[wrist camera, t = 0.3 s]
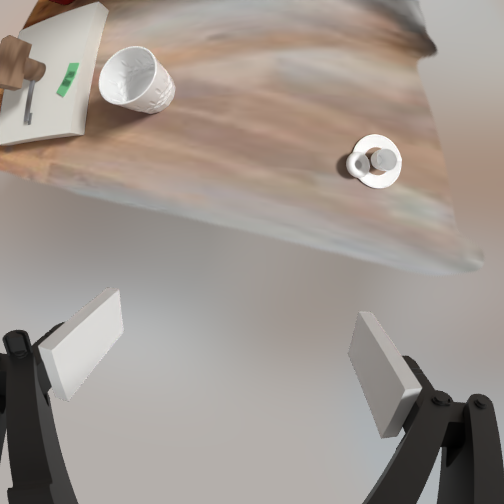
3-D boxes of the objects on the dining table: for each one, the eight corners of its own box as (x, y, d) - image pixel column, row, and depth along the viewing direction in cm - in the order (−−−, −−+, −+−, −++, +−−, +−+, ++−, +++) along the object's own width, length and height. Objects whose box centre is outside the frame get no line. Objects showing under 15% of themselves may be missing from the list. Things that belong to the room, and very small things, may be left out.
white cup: (121, 98, 38) (88, 83, 28) (156, 60, 36) (130, 36, 27) (152, 128, 39) (123, 117, 29) (190, 89, 37) (169, 66, 28)
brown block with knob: (36, 54, 32) (-1, 40, 22) (50, 50, 32) (12, 33, 21) (23, 123, 35) (-20, 119, 25) (36, 120, 35) (-7, 114, 25)
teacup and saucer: (339, 176, 40) (347, 177, 36) (352, 125, 38) (361, 120, 34) (392, 195, 40) (404, 197, 36) (404, 145, 38) (417, 143, 34)
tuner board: (31, 36, 34) (19, 30, 30) (108, 10, 33) (98, 0, 29) (10, 145, 40) (-5, 145, 36) (84, 134, 39) (69, 132, 35)
